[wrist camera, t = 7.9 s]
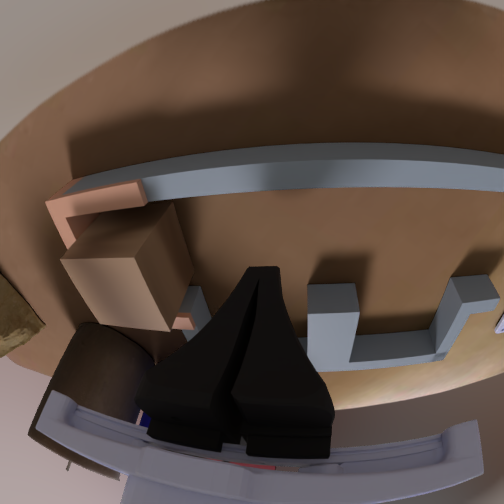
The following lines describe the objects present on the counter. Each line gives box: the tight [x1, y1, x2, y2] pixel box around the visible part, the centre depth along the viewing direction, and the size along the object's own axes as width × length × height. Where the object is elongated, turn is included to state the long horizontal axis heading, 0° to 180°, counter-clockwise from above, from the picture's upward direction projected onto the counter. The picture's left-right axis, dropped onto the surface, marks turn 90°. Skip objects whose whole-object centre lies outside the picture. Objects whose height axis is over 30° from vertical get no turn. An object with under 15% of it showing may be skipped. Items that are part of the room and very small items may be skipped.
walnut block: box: [60, 202, 195, 332], centre depth 15 cm, size 5×5×5 cm
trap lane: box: [45, 143, 504, 372], centre depth 16 cm, size 27×16×3 cm, turn 98°
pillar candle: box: [28, 323, 154, 481], centre depth 22 cm, size 10×10×15 cm
